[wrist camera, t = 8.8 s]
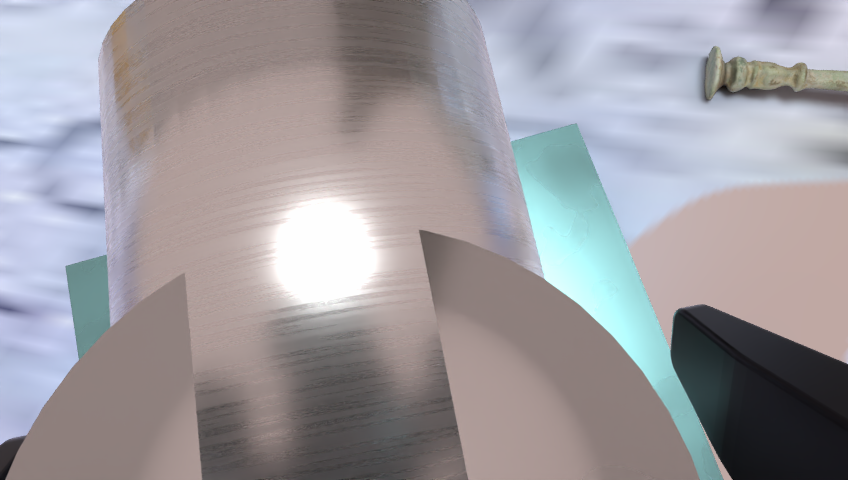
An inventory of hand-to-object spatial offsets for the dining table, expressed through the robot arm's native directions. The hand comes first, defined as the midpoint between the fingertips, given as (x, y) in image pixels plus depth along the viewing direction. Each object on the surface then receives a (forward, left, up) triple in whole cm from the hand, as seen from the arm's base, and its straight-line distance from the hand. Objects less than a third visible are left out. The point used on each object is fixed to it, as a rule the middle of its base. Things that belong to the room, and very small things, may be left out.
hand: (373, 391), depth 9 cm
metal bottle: (0, 0, -9) cm, 9 cm away
